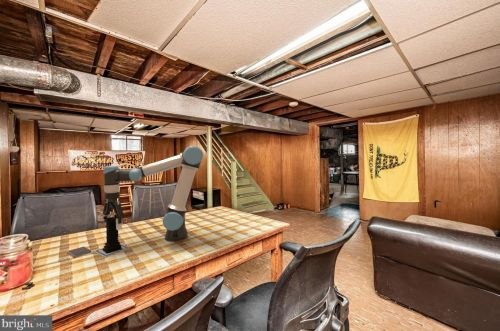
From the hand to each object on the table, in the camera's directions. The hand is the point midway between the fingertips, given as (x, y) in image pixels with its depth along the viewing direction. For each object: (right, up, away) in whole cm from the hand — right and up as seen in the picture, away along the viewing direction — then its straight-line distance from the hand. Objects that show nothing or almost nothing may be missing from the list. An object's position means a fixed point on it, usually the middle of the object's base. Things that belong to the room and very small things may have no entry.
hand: (113, 227), depth 122 cm
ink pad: (-17, -14, -4) cm, 22 cm away
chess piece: (-1, -13, 0) cm, 13 cm away
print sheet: (-1, -14, 0) cm, 14 cm away
